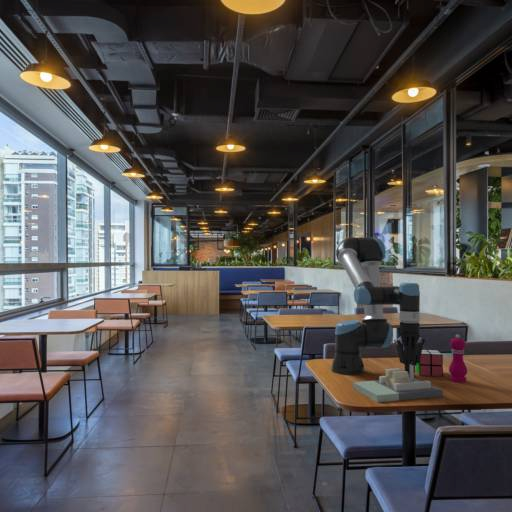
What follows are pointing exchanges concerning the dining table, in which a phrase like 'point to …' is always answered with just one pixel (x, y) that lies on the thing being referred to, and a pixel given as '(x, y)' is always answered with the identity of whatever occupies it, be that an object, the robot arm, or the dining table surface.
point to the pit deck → (397, 390)
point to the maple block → (396, 376)
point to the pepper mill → (458, 361)
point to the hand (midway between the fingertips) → (409, 381)
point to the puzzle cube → (430, 363)
